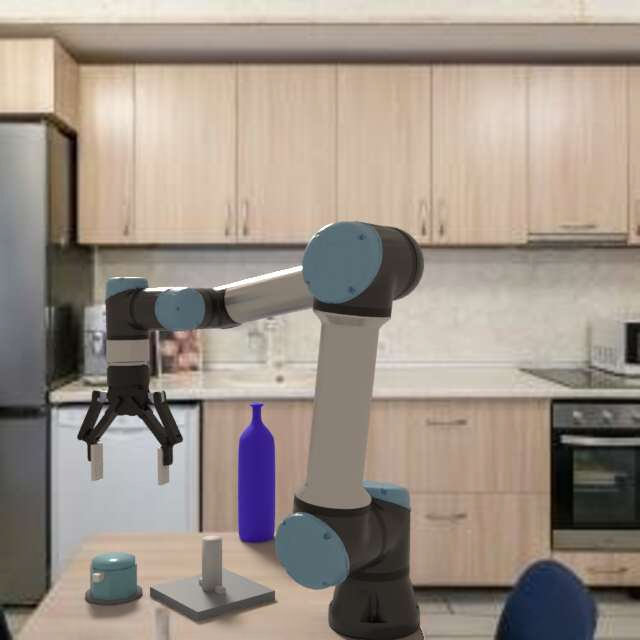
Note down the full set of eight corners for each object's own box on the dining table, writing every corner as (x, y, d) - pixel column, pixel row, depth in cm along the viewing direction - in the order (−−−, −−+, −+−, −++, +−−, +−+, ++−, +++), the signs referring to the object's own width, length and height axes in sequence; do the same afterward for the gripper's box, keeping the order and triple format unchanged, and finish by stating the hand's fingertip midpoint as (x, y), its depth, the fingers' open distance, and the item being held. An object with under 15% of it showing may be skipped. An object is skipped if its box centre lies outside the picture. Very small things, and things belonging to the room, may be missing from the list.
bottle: (269, 544, 183) (270, 406, 182) (233, 541, 185) (233, 405, 184) (279, 533, 191) (279, 401, 190) (244, 531, 193) (244, 400, 192)
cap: (114, 605, 145) (114, 570, 145) (77, 599, 148) (76, 565, 147) (148, 584, 155) (148, 552, 155) (112, 579, 158) (112, 548, 158)
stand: (275, 598, 150) (275, 540, 150) (197, 621, 140) (197, 557, 139) (224, 576, 162) (224, 521, 162) (149, 594, 152) (149, 536, 151)
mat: (152, 596, 151) (152, 593, 151) (100, 609, 145) (100, 606, 145) (126, 581, 159) (126, 578, 159) (75, 593, 152) (75, 590, 152)
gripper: (200, 362, 151) (202, 481, 152) (80, 361, 159) (82, 473, 159) (180, 365, 144) (182, 489, 144) (56, 364, 152) (58, 481, 152)
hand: (130, 481), depth 152 cm, fingers open, 13 cm apart
